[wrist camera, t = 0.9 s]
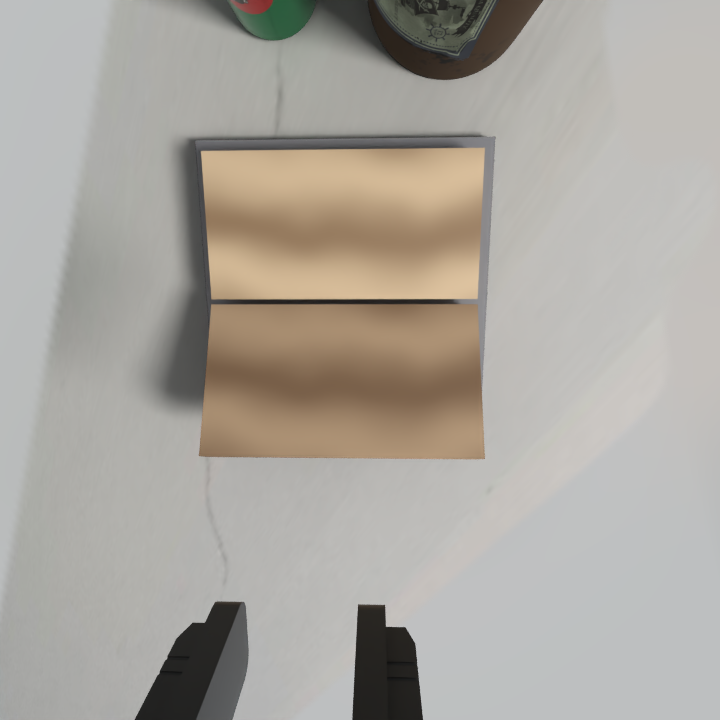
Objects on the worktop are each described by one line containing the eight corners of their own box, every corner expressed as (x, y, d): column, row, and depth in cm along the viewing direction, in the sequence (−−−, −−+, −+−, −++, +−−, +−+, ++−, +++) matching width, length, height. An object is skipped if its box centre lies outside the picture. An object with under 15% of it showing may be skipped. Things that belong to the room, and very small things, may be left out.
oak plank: (212, 157, 29) (201, 150, 27) (477, 155, 29) (484, 147, 27) (221, 296, 31) (211, 299, 29) (471, 296, 30) (477, 299, 29)
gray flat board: (201, 144, 30) (195, 140, 29) (491, 140, 29) (495, 136, 28) (222, 444, 34) (217, 449, 33) (475, 446, 34) (478, 452, 33)
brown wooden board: (221, 314, 31) (211, 304, 29) (471, 314, 30) (477, 304, 28) (210, 456, 29) (199, 456, 27) (477, 459, 28) (484, 458, 27)
